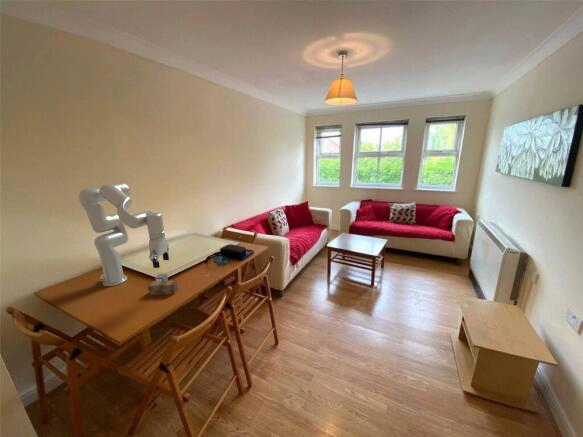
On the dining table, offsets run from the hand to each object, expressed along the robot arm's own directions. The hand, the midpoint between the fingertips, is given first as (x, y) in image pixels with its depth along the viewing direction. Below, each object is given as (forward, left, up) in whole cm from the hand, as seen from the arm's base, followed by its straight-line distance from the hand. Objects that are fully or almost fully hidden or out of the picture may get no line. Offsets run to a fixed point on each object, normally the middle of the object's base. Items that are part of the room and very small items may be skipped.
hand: (161, 263), depth 135 cm
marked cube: (-8, +10, -18) cm, 22 cm away
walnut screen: (-1, 0, -18) cm, 18 cm away
